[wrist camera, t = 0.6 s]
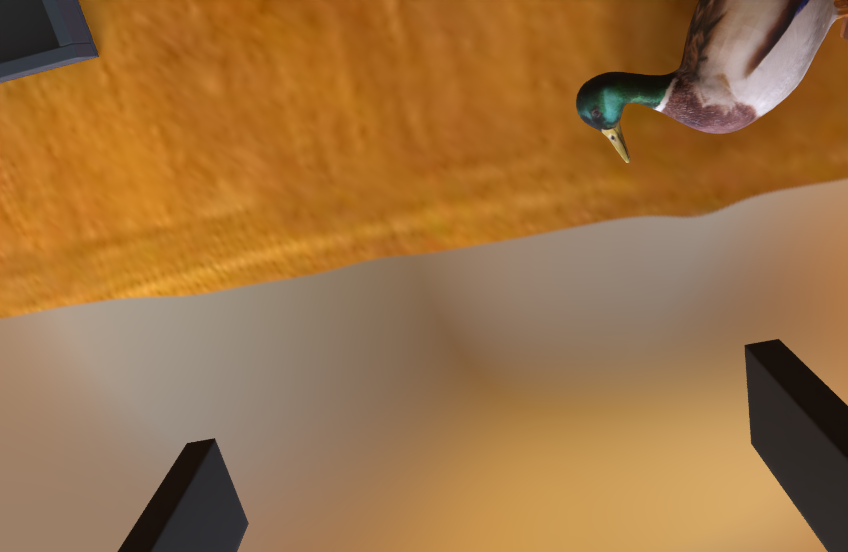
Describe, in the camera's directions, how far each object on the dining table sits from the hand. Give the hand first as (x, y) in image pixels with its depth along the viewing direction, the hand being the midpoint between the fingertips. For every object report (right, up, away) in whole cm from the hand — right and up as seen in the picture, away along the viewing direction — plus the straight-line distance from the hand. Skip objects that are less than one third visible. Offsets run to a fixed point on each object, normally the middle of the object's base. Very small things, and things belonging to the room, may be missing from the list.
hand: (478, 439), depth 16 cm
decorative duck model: (+14, +19, +22) cm, 32 cm away
